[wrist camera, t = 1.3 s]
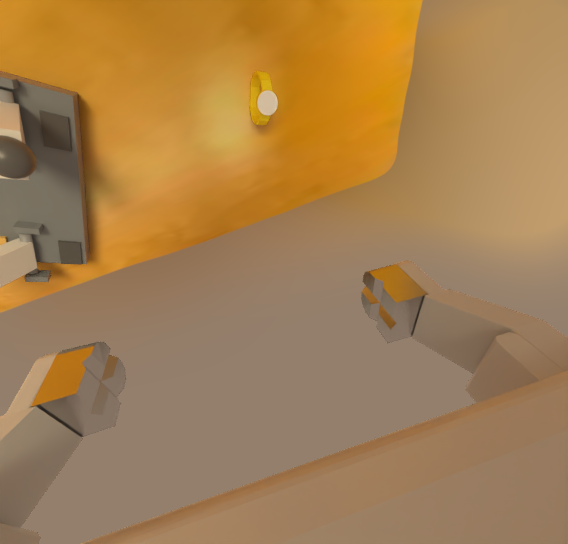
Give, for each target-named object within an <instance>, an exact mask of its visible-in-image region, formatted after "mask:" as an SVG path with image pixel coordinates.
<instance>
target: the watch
mask: <svg viewBox="0 0 568 544" xmlns="http://www.w3.org/2000/svg"><path fill="white" fill-rule="evenodd" d="M260 86H261V92H260ZM277 107H278V99H277V96H276V94H275V93H274V92H273V91H272V83H271V79H270V76H269V74H268V73H266V72H261V71H255V72H254V74H253V76H252V79H251V84H250V113H251V118H252V120H253V123H254V124H256V125H266V124H267V123H268V121H269V120H270V116H271V115H272V114H273V113H274V112H275V111H276V109H277Z"/></svg>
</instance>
